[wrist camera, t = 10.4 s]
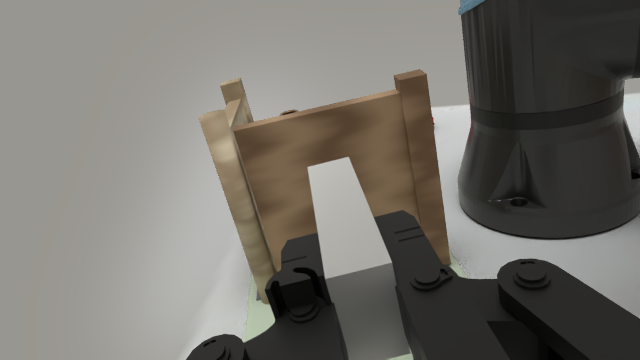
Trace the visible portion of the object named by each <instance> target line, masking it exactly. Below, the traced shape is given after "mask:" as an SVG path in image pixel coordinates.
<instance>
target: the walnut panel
mask: <svg viewBox="0 0 640 360" xmlns="http://www.w3.org/2000/svg"><path fill="white" fill-rule="evenodd" d="M394 80H395V86H396V90H391V91H387V92H382V93H378V94H373V95H369V96H365V97H360V98H356V99H352V100H347V101H343V102H339V103H334V104H330V105H326V106H321V107H317V108H313V109H308V110H304V111H300V112H295V113H291V114H286V115H282V116H278V117H273V118H269V119H264V120H260V121H256V122H251V123H247V124H243V125H238V126H236V127H235V128H234V130H233V132H234V135H235V139H236V142H237V145H238V148H239V151H240V154H241V158H242V161H243V164H244V167H245V170H246V173H247V177H248V180H249V183H250V186H251V189H252V192H253V196H254V199H255V202H256V205H257V208H258V211H259V214H260V218H261V221H262V224H263V227H264V230H265V233H266V237H267V240H268V243H269V246H270V249H271V252H272V256H273V259H274V262H275V265H276V268H277V271H278V272H279V271H280V270H281V250H282V249H283V247H284V245H285V244H286V242H287V240H290V239H294V238H298V237H302V236H306V235H310V234H314V233H317V232H318V231H317V224H316V218H315V212H314V205H313V199H312V193H311V186H310V180H309V174H308V168H307V167H310V166H314V165H318V164H322V163H326V162H330V161H333V160H337V159H341V158H345V157H349V159H350V161H351V164H352V166H353V169H354V171H355V173H356V176H357V178H358V181H359V183H360V186H361V188H362V191H363V193H364V195H365V198H366V200H367V203H368V205H369V208H370V210H371V212H372V215H373V217H376V216H380V215H384V214H388V213H392V212H396V211H400V210H404V211H406V212H407V213H409V214H411V215H413V216H414V217H415V218H416V220H417V222H418V223H419V225H420V227H421V228H422V230H423V232H424V233H425V236H426V237H427V238H428V240H429V242H430V244H431V245H432V247H433V249H434V250H435V252H436V254H437V255H438V257H439V259H440V260H441V262H442V264H444V265H445V264H450V263H451V261H450V254H449V246H448V238H447V230H446V222H445V214H444V207H443V199H442V191H441V183H440V175H439V168H438V160H437V152H436V144H435V136H434V128H433V121H432V113H431V105H430V97H429V89H428V82H427V74H426V73H424V72H423V71H421V70H415V71H411V72H406V73H402V74H398V75H394Z"/></svg>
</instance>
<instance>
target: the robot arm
mask: <svg viewBox="0 0 640 360" xmlns="http://www.w3.org/2000/svg"><path fill="white" fill-rule="evenodd" d="M459 15H461V20H462V30H463V40H464V50H465V61H466V71H467V81H468V92H469V101H470V111H471V128H470V132H469V136H468V140H467V144H466V148H465V152H464V156H463V160H462V163H461V167H460V171H459V175H458V190H459V199H460V204H461V207H462V208H463V210H464V211H465V212H466V213H467V214H468V215H469V216H470V217H471V218H473V219H474V220H475V221H477V222H479V223H481V224H483V225H485V226H487V227H490V228H493V229H495V230H499V231H502V232H506V233H510V234H516V235H522V236H529V237H542V238H561V237H575V236H583V235H589V234H594V233H598V232H602V231H605V230H608V229H611V228H614V227H617V226H619V225H621V224H623V223H625V222H627V221H628V220H630V219H631V218H633V217H634V216H635V215H636V214H637V213H638V212H639V211H640V158H639V155H638V152H637V150H636V147H635V144H634V141H633V139H632V136H631V133H630V130H629V128H628V125H627V122H626V119H625V116H624V113H623V99H624V83H625V80H627V79H631V78H640V0H460V8H459ZM307 168H308V174H309V180H310V186H311V193H312V199H313V205H314V212H315V218H316V224H317V231H318V232H317V233H314V234H310V235H306V236H302V237H298V238H294V239H290V240H287V242H286V244H285V245H284V247H283V249H282V250H281V270H280V271H279V272H277V273H276V274H274V275H273V276H272V277H271V278H270V279H269V281H268V282H267V284H266V287H265V293H266V295H267V298H268V301H269V304H270V307H271V309H272V312H273V315H274V318H275V322H274V324H273V325H272V326H271V327H269V328H268V329H267V330H266V331H264V332H263V333H261V334H260V335H258V336H256V337H254V338H252V339H250V340H248V341H246V342H244V343H243V341H242V339H240V338H239V337H237V336H235V335H229V334H223V335H218V336H214V337H212V338H210V339H208V340H206V341H204V342H202V343H201V344H200V345H198V346H197V347H196V348H195V349H194V350H193V351H192V352H191V354H190V355H189V356H188V358H187V359H186V360H386V359H390V358H395V357H399V356H403V355H407V354H411V353H410V350H411V352H412V355H413V360H640V319H639V318H638V317H636V316H635V315H633V314H631V313H630V312H628V311H627V310H625V309H624V308H622V307H620V306H619V305H617V304H616V303H614V302H613V301H611V300H610V299H608V298H606V297H605V296H603V295H602V294H600V293H599V292H597V291H595V290H594V289H592V288H591V287H589V286H588V285H586V284H584V283H583V282H581V281H580V280H578V279H577V278H575V277H573V276H572V275H570V274H569V273H567V272H566V271H564V270H562V269H561V268H559V267H558V266H556V265H554V264H551V263H549V262H547V261H543V260H538V259H519V260H515V261H512V262H509V263H507V264H506V265H504V266H503V267H501V268H500V270H499V272H498V274H497V279H468V278H464V277H460V276H458V275H457V273H456V272H455V271H454V270H453V269H452V268H451V267H448V266H446V265H444V264H442V262H441V260H440V259H439V257H438V255H437V254H436V252H435V250H434V249H433V247H432V245H431V244H430V242H429V240H428V238H427V237H426V236H425V233H424V232H423V230H422V228H421V227H420V225H419V223H418V222H417V220H416V218H415V217H414V216H413V215H411V214H409V213H407V212H406V211H404V210H400V211H396V212H392V213H388V214H384V215H380V216H376V217H373V215H372V212H371V210H370V208H369V205H368V203H367V200H366V198H365V195H364V193H363V191H362V188H361V186H360V183H359V181H358V178H357V176H356V173H355V171H354V169H353V166H352V164H351V161H350V159H349V157H345V158H341V159H337V160H333V161H330V162H326V163H322V164H318V165H314V166H310V167H307ZM409 347H410V348H409Z"/></svg>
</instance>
